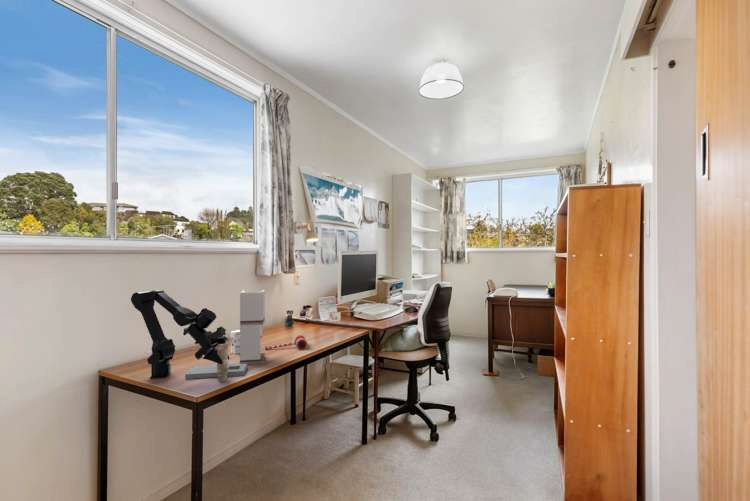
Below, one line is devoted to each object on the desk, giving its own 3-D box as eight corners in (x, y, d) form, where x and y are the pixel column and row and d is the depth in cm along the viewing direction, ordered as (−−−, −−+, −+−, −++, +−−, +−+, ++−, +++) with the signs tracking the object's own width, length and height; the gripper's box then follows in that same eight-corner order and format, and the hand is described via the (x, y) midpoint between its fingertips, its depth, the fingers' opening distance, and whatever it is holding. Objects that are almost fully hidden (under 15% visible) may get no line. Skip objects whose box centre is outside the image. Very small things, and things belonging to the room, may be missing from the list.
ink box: (244, 349, 207) (244, 328, 207) (249, 351, 204) (249, 329, 204) (230, 352, 201) (230, 331, 201) (234, 354, 197) (234, 332, 197)
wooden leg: (216, 382, 156) (216, 346, 156) (218, 378, 160) (218, 344, 160) (226, 381, 156) (226, 346, 156) (228, 378, 161) (228, 343, 161)
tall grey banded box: (262, 363, 182) (262, 292, 182) (239, 364, 180) (240, 292, 180) (264, 356, 193) (264, 289, 193) (243, 358, 191) (243, 290, 191)
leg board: (185, 379, 159) (185, 374, 159) (192, 370, 170) (192, 366, 170) (243, 375, 164) (243, 370, 164) (247, 367, 175) (247, 363, 175)
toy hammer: (265, 353, 201) (265, 341, 201) (264, 347, 212) (264, 336, 212) (307, 350, 208) (307, 338, 208) (305, 344, 219) (305, 334, 219)
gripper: (202, 326, 149) (229, 354, 148) (223, 318, 168) (247, 342, 167) (183, 345, 149) (209, 373, 149) (206, 335, 168) (230, 359, 167)
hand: (225, 361), depth 158 cm, fingers open, 6 cm apart
